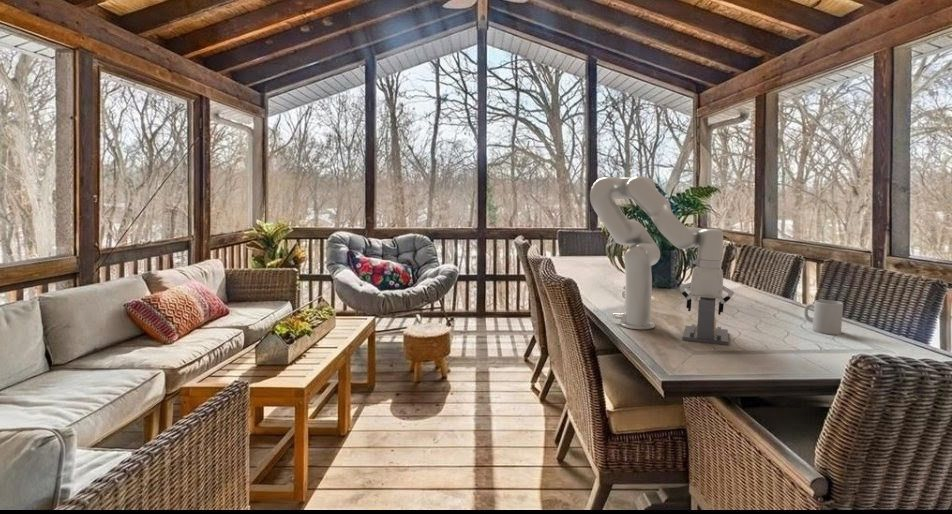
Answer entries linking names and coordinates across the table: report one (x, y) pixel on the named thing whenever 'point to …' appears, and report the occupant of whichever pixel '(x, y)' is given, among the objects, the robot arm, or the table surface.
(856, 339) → the table surface
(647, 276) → the robot arm
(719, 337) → the roll holder
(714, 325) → the paper roll
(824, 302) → the mug
